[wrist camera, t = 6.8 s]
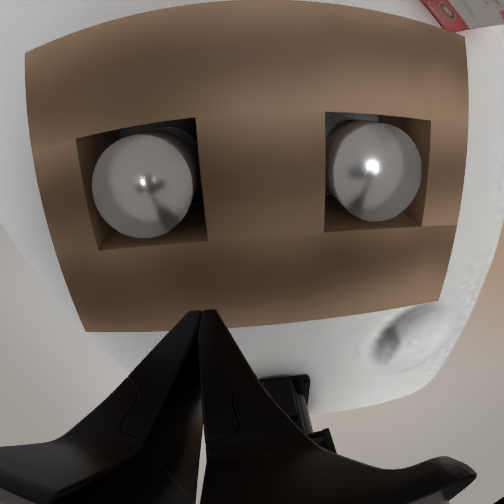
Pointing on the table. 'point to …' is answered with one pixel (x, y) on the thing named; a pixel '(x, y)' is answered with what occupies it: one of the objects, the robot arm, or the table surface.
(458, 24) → the ink cartridge box
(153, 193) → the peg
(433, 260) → the walnut block
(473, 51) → the table surface
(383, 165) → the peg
